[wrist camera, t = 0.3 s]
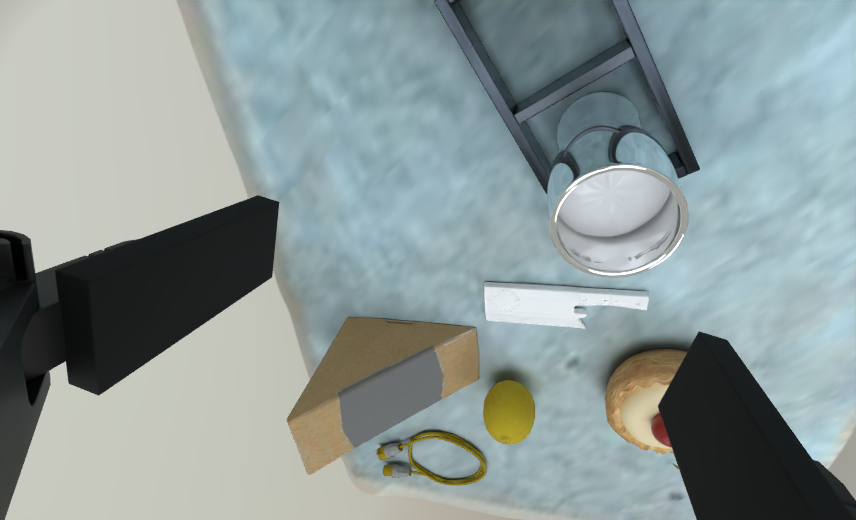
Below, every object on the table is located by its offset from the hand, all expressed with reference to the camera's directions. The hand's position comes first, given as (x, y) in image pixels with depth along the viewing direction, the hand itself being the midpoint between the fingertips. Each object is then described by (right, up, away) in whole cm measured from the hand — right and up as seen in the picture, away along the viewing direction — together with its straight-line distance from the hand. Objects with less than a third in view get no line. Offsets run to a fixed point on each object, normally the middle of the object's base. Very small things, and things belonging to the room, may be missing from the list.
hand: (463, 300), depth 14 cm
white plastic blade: (+12, -3, +31) cm, 33 cm away
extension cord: (0, -26, +51) cm, 57 cm away
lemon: (+9, -13, +39) cm, 42 cm away
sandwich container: (-3, -9, +39) cm, 41 cm away
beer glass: (+12, +11, +21) cm, 27 cm away
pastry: (+23, -11, +33) cm, 42 cm away
